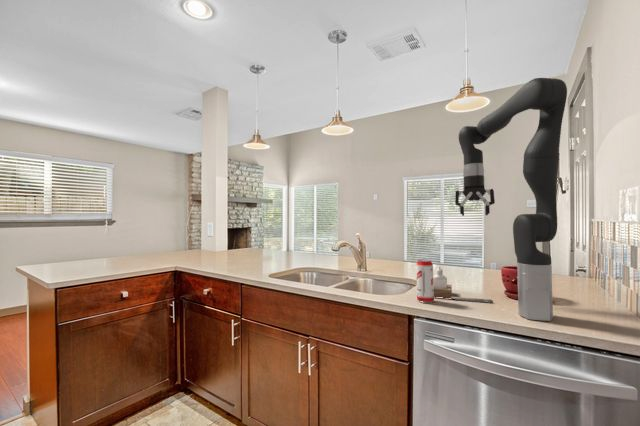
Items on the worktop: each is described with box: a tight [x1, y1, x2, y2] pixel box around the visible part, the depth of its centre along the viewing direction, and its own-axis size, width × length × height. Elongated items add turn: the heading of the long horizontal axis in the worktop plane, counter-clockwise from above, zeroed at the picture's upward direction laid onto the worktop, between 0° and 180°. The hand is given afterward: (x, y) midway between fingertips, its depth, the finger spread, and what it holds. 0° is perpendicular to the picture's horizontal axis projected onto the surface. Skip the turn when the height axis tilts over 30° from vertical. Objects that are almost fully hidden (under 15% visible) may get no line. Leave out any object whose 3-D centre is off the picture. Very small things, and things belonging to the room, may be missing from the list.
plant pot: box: [500, 265, 518, 300], centre depth 125 cm, size 13×13×12 cm
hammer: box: [434, 284, 494, 304], centre depth 127 cm, size 12×24×4 cm, turn 66°
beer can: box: [415, 258, 435, 303], centre depth 122 cm, size 6×6×16 cm
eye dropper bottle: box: [433, 266, 448, 289], centre depth 131 cm, size 4×6×12 cm
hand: (474, 215), depth 127 cm, fingers open, 8 cm apart
